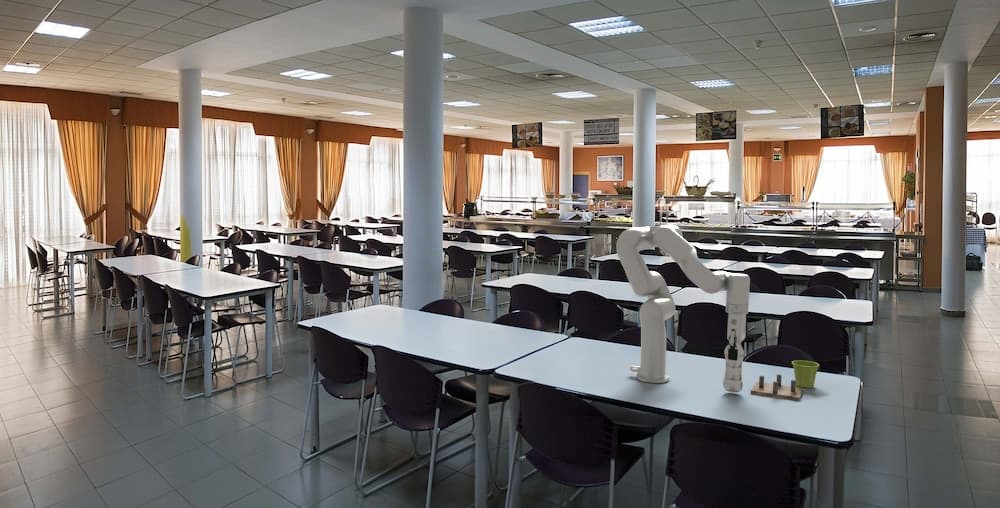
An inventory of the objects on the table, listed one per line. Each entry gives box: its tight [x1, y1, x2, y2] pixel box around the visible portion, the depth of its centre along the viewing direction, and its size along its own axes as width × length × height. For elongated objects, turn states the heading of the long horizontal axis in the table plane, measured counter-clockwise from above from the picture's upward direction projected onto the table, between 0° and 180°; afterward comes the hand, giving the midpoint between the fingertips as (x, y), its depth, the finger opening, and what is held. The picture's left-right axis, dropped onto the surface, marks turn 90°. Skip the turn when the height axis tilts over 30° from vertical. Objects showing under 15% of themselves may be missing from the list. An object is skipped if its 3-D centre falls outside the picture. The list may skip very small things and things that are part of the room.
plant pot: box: [791, 360, 820, 389], centre depth 238 cm, size 9×9×9 cm
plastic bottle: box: [722, 339, 745, 393], centre depth 227 cm, size 6×7×20 cm
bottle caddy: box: [750, 373, 804, 402], centre depth 230 cm, size 16×13×5 cm
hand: (734, 357), depth 227 cm, fingers closed on plastic bottle, 6 cm apart
